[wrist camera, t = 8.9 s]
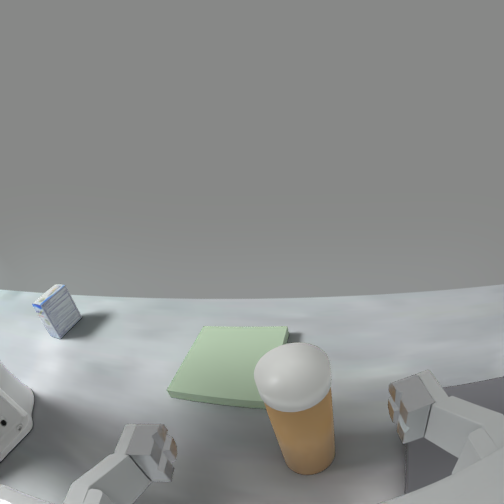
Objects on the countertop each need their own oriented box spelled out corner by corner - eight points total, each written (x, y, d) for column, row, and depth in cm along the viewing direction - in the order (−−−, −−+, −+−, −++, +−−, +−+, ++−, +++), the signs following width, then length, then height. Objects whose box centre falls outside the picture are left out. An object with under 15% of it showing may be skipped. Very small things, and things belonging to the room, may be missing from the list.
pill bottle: (332, 476, 22) (326, 399, 17) (278, 473, 24) (244, 396, 19) (338, 433, 27) (333, 341, 21) (289, 431, 29) (263, 342, 23)
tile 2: (527, 480, 13) (534, 473, 12) (404, 509, 17) (407, 505, 16) (505, 383, 24) (509, 375, 23) (403, 400, 28) (405, 392, 27)
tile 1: (268, 409, 32) (266, 401, 31) (171, 397, 36) (166, 390, 36) (289, 334, 43) (287, 326, 42) (206, 333, 47) (203, 326, 47)
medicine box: (72, 316, 62) (55, 283, 58) (83, 317, 60) (65, 283, 56) (50, 336, 55) (31, 303, 51) (60, 339, 53) (40, 305, 50)
